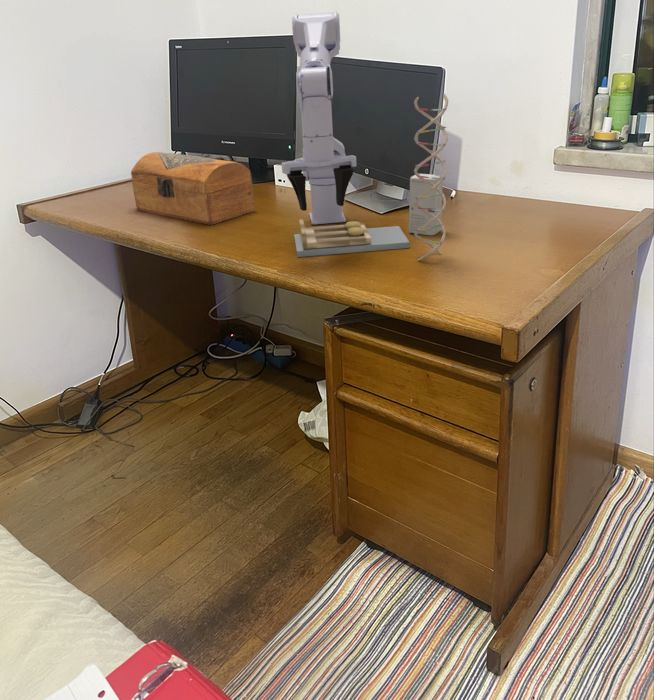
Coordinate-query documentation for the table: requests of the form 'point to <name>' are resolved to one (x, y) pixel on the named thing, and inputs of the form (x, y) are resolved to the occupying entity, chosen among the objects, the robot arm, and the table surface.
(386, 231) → the board
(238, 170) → the wooden box
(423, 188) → the skincare box
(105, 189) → the table surface
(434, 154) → the dna model
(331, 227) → the beige flat slatted frame
